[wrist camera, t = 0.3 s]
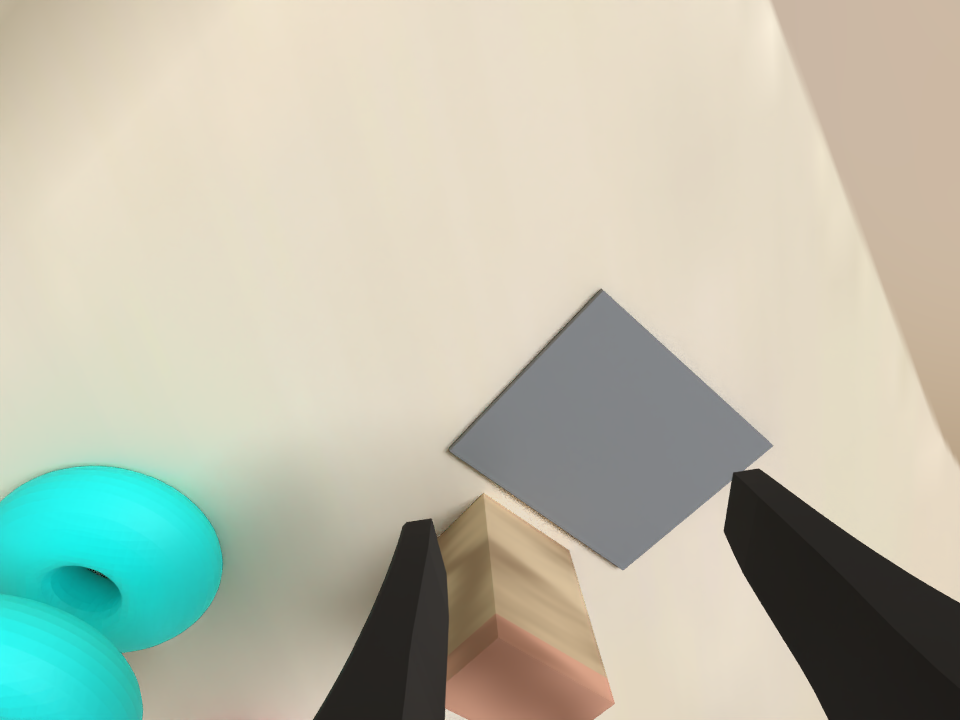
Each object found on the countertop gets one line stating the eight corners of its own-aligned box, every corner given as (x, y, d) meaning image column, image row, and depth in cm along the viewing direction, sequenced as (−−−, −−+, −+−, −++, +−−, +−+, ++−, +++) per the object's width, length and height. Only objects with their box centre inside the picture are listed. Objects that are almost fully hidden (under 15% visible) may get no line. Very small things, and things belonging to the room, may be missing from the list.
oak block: (518, 594, 28) (543, 756, 20) (432, 542, 26) (426, 699, 19) (568, 550, 27) (614, 703, 19) (483, 492, 25) (498, 637, 18)
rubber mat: (621, 566, 27) (623, 570, 27) (449, 447, 24) (449, 451, 24) (769, 442, 25) (773, 445, 24) (601, 288, 21) (603, 290, 21)
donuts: (118, 689, 15) (104, 869, 18) (245, 480, 24) (219, 627, 27) (-296, 630, 13) (-223, 841, 17) (12, 430, 22) (16, 593, 26)
